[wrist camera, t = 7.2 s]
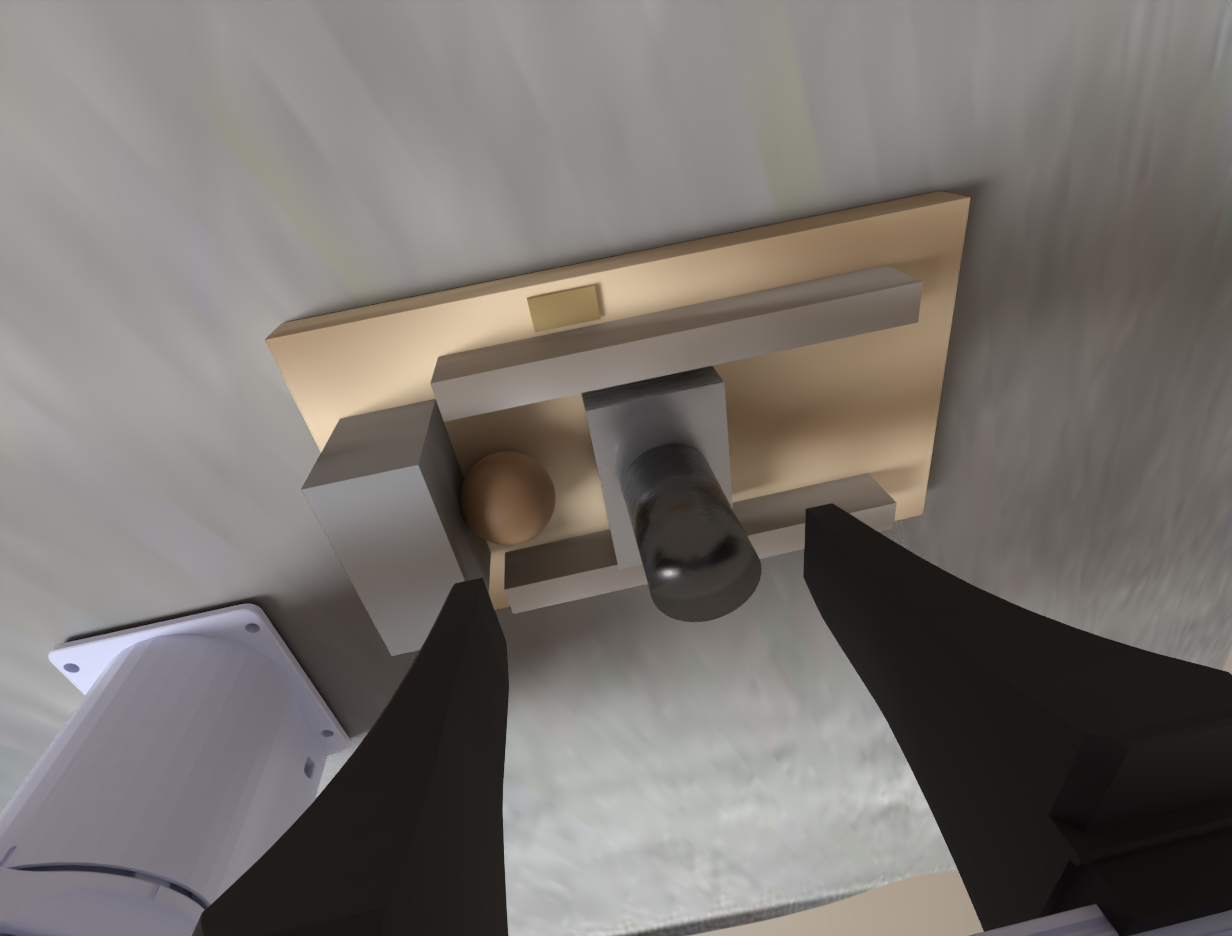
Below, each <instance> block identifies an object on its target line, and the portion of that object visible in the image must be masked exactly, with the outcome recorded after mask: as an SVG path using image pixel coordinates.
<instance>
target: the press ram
mask: <svg viewBox="0 0 1232 936" xmlns="http://www.w3.org/2000/svg"><path fill="white" fill-rule="evenodd" d="M581 395H582V400H583V404H584V409H585V414H586V419H587V423H588V428H589V433H590V438H591V442H592V447H593V452H594V457H595V461H596V466H597V471H598V476H599V480H600V485H601V490H602V495H603V499H604V504H605V509H606V514H607V518H608V523H609V528H610V532H611V537H612V541H613V546H614V550H615V555H616V559H617V564H618V568H619V570H620V569H624V568H629V567H633V566H638V565H642V564H643V568H644V571H645V575H646V578H647V582H648V586H649V589H650V593H651V596H652V599H653V601H654V603H655V605H656V606H657V608H658V609H659V610H660V611H662V612H663V613H664V614H666V615H667V616H669V617H671V618H674V619H677V620H681V621H687V622H701V621H708V620H712V619H716V618H719V617H722V616H724V615H726V614H728V613H730V612H732V611H734V610H735V609H737V608H738V607H740V606H741V605H742V604H743V603H744V602H746V601H747V600H748V598H749V597H750V596H751V595H752V594H753V592H754V591H755V589H756V587H757V585H758V583H759V580H760V576H761V563H760V559H759V557H758V555H757V553H756V551H755V549H754V547H753V546H752V544H751V542H750V540H749V538H748V536H747V534H746V533H745V531H744V529H743V527H742V525H741V523H740V521H739V520H738V518H737V516H736V514H735V512H734V510H733V504H732V489H731V473H730V458H729V443H728V428H727V413H726V397H725V382H724V381H723V380H722V378H721V377H720V376H719V374H718V373H717V372H716V370H715V369H714V367H713V366H708V367H703V368H698V369H694V370H689V371H684V372H679V373H675V374H670V375H665V376H660V377H655V378H651V379H646V380H641V381H636V382H632V383H627V384H622V385H617V386H613V387H608V388H603V389H598V390H593V391H589V392H584V393H581Z"/></svg>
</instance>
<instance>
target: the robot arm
mask: <svg viewBox="0 0 1232 936" xmlns="http://www.w3.org/2000/svg"><path fill="white" fill-rule="evenodd" d="M804 579H805V581H806V584H807V586H808V588H809V590H810V593H811V595H812V597H813V599H814V601H815V603H816V605H817V607H818V610H819V612H820V614H821V616H822V618H823V619H824V621H825V622H826V624H827V626H828V627H829V629H830V631H831V632H832V634H833V635H834V637H835V638H836V640H837V642H838V643H839V645H840V646H841V648H842V650H843V651H844V653H845V654H846V656H847V657H848V659H849V661H850V662H851V664H852V665H853V667H854V668H855V670H856V671H857V673H858V675H859V676H860V678H861V679H862V681H863V682H864V684H865V686H866V687H867V689H868V690H869V692H870V693H871V695H872V697H873V698H874V700H875V701H876V703H877V705H878V706H879V708H880V710H881V711H882V713H883V715H884V717H885V718H886V720H887V722H888V724H889V726H890V728H891V730H892V732H893V734H894V736H895V738H896V739H897V741H898V743H899V745H900V747H901V749H902V751H903V753H904V755H905V757H906V759H907V761H908V763H909V765H910V767H911V769H912V771H913V773H914V776H915V778H916V780H917V782H918V784H919V786H920V788H921V790H922V792H923V794H924V796H925V798H926V801H927V803H928V805H929V807H930V809H931V811H932V813H933V815H934V818H935V820H936V822H937V824H938V826H939V829H940V831H941V833H942V835H943V837H944V840H945V842H946V844H947V846H948V848H949V851H950V853H951V855H952V857H953V859H954V862H955V864H956V866H957V869H958V871H959V873H960V876H961V878H962V880H963V883H964V885H965V887H966V890H967V892H968V894H969V897H970V899H971V901H972V904H973V906H974V909H975V911H976V913H977V916H978V918H979V920H980V923H981V925H982V928H983V930H984V932H981V933H978V934H974V935H970V936H1232V675H1231V674H1230V673H1229V672H1226V671H1222V670H1218V669H1214V668H1210V667H1207V666H1203V665H1199V664H1195V663H1191V662H1187V661H1183V660H1179V659H1176V658H1172V657H1168V656H1164V655H1160V654H1156V653H1152V652H1149V651H1146V650H1142V649H1139V648H1136V647H1132V646H1129V645H1126V644H1123V643H1119V642H1116V641H1113V640H1110V639H1107V638H1103V637H1100V636H1097V635H1094V634H1091V633H1089V632H1086V631H1083V630H1080V629H1077V628H1074V627H1071V626H1069V625H1066V624H1063V623H1061V622H1058V621H1055V620H1053V619H1050V618H1047V617H1045V616H1042V615H1039V614H1037V613H1034V612H1032V611H1029V610H1027V609H1024V608H1022V607H1020V606H1017V605H1015V604H1013V603H1010V602H1008V601H1006V600H1004V599H1001V598H999V597H997V596H995V595H993V594H990V593H988V592H986V591H984V590H981V589H979V588H977V587H975V586H973V585H971V584H969V583H967V582H965V581H963V580H961V579H959V578H957V577H956V576H954V575H952V574H950V573H948V572H946V571H944V570H942V569H940V568H939V567H937V566H935V565H933V564H931V563H929V562H928V561H926V560H924V559H922V558H921V557H919V556H917V555H915V554H914V553H912V552H910V551H909V550H907V549H905V548H904V547H902V546H900V545H899V544H897V543H895V542H894V541H892V540H890V539H889V538H887V537H885V536H884V535H882V534H881V533H879V532H878V531H876V530H874V529H873V528H871V527H870V526H868V525H866V524H865V523H863V522H862V521H860V520H859V519H857V518H855V517H854V516H852V515H851V514H849V513H848V512H846V511H844V510H843V509H841V508H840V507H838V506H836V505H835V504H833V503H831V504H826V505H821V506H816V507H812V508H807V509H806V514H805V547H804ZM251 623H254V624H257V625H252V624H251ZM49 660H50V661H51V662H52V663H53V664H54V665H55V666H56V667H57V668H58V669H59V670H60V671H61V672H62V673H63V674H64V675H65V676H66V677H67V678H68V679H69V680H70V681H71V682H72V683H73V684H74V685H75V686H76V687H77V688H78V689H79V690H80V691H81V692H82V693H83V694H84V695H85V696H84V698H83V699H82V701H81V702H80V703H79V705H78V706H77V707H76V709H75V710H74V712H73V713H72V714H71V716H70V717H69V719H68V720H67V721H66V723H65V724H64V726H63V727H62V728H61V730H60V731H59V732H58V734H57V735H56V737H55V738H54V739H53V741H52V742H51V744H50V745H49V746H48V748H47V749H46V751H45V752H44V753H43V755H42V756H41V757H40V759H39V760H38V762H37V763H36V764H35V766H34V767H33V769H32V770H31V771H30V773H29V774H28V776H27V777H26V778H25V780H24V781H23V783H22V784H21V785H20V787H19V788H18V789H17V791H16V792H15V794H14V795H13V796H12V798H11V799H10V801H9V802H8V803H7V805H6V806H5V808H4V809H3V810H2V812H1V813H0V936H508V925H507V908H506V887H505V867H504V841H503V812H502V808H503V778H504V761H505V745H506V729H507V712H508V693H509V680H508V662H507V647H506V640H505V638H504V635H503V632H502V629H501V627H500V624H499V621H498V618H497V616H496V613H495V610H494V607H493V605H492V602H491V599H490V596H489V594H488V591H487V588H486V585H485V582H484V580H483V578H478V579H473V580H469V581H464V582H459V583H455V584H454V585H453V587H452V588H451V590H450V592H449V594H448V596H447V598H446V600H445V602H444V604H443V606H442V609H441V611H440V613H439V615H438V617H437V619H436V621H435V623H434V625H433V627H432V628H431V630H430V632H429V634H428V636H427V638H426V640H425V642H424V644H423V645H422V647H421V649H420V651H419V653H418V655H417V656H416V658H415V660H414V662H413V664H412V665H411V667H410V669H409V671H408V672H407V674H406V676H405V677H404V679H403V680H402V682H401V684H400V685H399V687H398V689H397V690H396V692H395V693H394V695H393V697H392V698H391V700H390V702H389V703H388V705H387V706H386V708H385V709H384V711H383V712H382V714H381V715H380V717H379V718H378V720H377V721H376V723H375V724H374V725H373V727H372V728H371V730H370V731H369V732H368V734H367V735H366V737H365V738H364V739H363V741H362V742H361V743H360V745H359V746H358V748H357V749H356V750H355V752H354V753H353V754H352V755H351V757H350V758H349V759H348V760H347V762H346V763H345V764H344V765H343V767H342V768H341V769H340V771H339V772H338V773H337V774H336V775H335V777H334V778H333V779H332V780H331V782H330V783H329V784H328V785H327V786H326V788H325V789H324V790H323V791H322V792H321V794H320V795H319V796H318V797H317V798H316V794H317V791H318V787H319V784H320V780H321V776H322V773H323V769H324V766H325V762H326V759H327V755H329V754H333V753H337V752H341V751H344V750H345V749H346V748H347V747H348V743H349V737H348V736H347V734H346V733H345V731H344V730H343V728H342V727H341V725H340V724H339V722H338V721H337V719H336V718H335V716H334V715H333V713H332V712H331V710H330V709H329V708H328V706H327V705H326V703H325V702H324V700H323V699H322V697H321V696H320V694H319V693H318V691H317V690H316V688H315V687H314V685H313V684H312V682H311V681H310V680H309V678H308V677H307V675H306V674H305V672H304V671H303V669H302V668H301V666H300V665H299V663H298V662H297V660H296V659H295V657H294V656H293V654H292V653H291V652H290V650H289V649H288V647H287V646H286V644H285V643H284V641H283V640H282V638H281V637H280V635H279V634H278V632H277V631H276V629H275V628H274V626H273V625H272V623H271V622H270V621H269V619H268V618H267V616H266V615H265V613H264V612H263V610H262V609H261V608H260V607H259V606H256V605H254V604H249V603H248V604H240V605H236V606H231V607H227V608H222V609H217V610H213V611H208V612H204V613H199V614H195V615H190V616H185V617H181V618H176V619H172V620H167V621H163V622H158V623H153V624H149V625H144V626H140V627H135V628H131V629H126V630H121V631H117V632H112V633H108V634H103V635H99V636H94V637H89V638H85V639H80V640H76V641H71V642H67V643H62V644H59V645H56V646H55V647H54V649H53V650H52V651H51V652H50V653H49ZM315 798H316V799H315Z"/></svg>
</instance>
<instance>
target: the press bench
mask: <svg viewBox="0 0 1232 936" xmlns="http://www.w3.org/2000/svg"><path fill="white" fill-rule="evenodd" d="M970 198H971V197H967V196H962V195H958V194H953V193H948V192H944V191H937V192H932V193H927V194H922V195H917V196H912V197H907V198H902V199H897V200H892V201H887V202H882V203H877V204H872V205H867V206H862V207H857V208H852V209H847V210H842V211H837V212H833V213H828V214H823V215H818V216H813V217H808V218H803V219H798V220H793V221H788V222H783V223H778V224H773V225H768V226H763V227H758V228H753V229H748V230H743V231H738V232H733V233H728V234H723V235H718V236H713V237H708V238H703V239H698V240H693V241H688V242H683V243H678V244H674V245H669V246H664V247H659V248H654V249H649V250H644V251H639V252H634V253H629V254H624V255H619V256H614V257H609V258H604V259H599V260H594V261H589V262H584V263H579V264H574V265H569V266H564V267H559V268H554V269H549V270H544V271H539V272H534V273H529V274H524V275H519V276H514V277H510V278H505V279H500V280H495V281H490V282H485V283H480V284H475V285H470V286H465V287H460V288H455V289H450V290H445V291H440V292H435V293H430V294H425V295H420V296H415V297H410V298H405V299H400V300H395V301H390V302H385V303H380V304H375V305H370V306H365V307H360V308H355V309H351V310H346V311H341V312H336V313H331V314H326V315H321V316H316V317H311V318H306V319H301V320H296V321H291V322H286V323H282V324H281V325H280V326H279V327H278V328H276V329H275V330H274V331H273V332H272V333H271V334H270V335H269V336H268V337H267V338H266V339H265V342H266V344H267V346H268V348H269V350H270V352H271V354H272V356H273V358H274V360H275V362H276V364H277V366H278V368H279V370H280V372H281V374H282V376H283V378H284V380H285V382H286V384H287V386H288V388H289V390H290V392H291V394H292V396H293V398H294V400H295V402H296V404H297V406H298V408H299V409H300V411H301V413H302V415H303V417H304V419H305V421H306V423H307V425H308V427H309V429H310V431H311V433H312V435H313V437H314V439H315V441H316V443H317V445H318V447H319V449H320V451H321V454H320V456H319V458H318V459H317V461H316V463H315V465H314V467H313V469H312V470H311V472H310V474H309V476H308V478H307V480H306V481H305V483H304V485H303V487H302V489H301V491H302V493H303V494H304V496H305V498H306V500H307V502H308V504H309V505H310V507H311V509H312V511H313V513H314V515H315V516H316V518H317V520H318V522H319V524H320V526H321V527H322V529H323V531H324V533H325V535H326V537H327V538H328V540H329V542H330V544H331V546H332V548H333V550H334V551H335V553H336V555H337V557H338V559H339V561H340V562H341V564H342V566H343V568H344V570H345V572H346V573H347V575H348V577H349V579H350V581H351V583H352V584H353V586H354V588H355V590H356V592H357V594H358V595H359V597H360V599H361V601H362V603H363V605H364V606H365V608H366V610H367V612H368V614H369V616H370V617H371V619H372V621H373V623H374V625H375V627H376V628H377V630H378V632H379V634H380V636H381V638H382V639H383V641H384V643H385V645H386V647H387V649H388V650H389V652H390V654H391V656H396V655H400V654H405V653H409V652H413V651H418V650H420V649H421V647H422V645H423V644H424V642H425V640H426V638H427V636H428V634H429V632H430V630H431V628H432V627H433V625H434V623H435V621H436V619H437V617H438V615H439V613H440V611H441V609H442V606H443V604H444V602H445V600H446V598H447V596H448V594H449V592H450V590H451V588H452V587H453V585H454V584H455V583H459V582H464V581H469V580H473V579H478V578H483V580H484V582H485V585H486V588H487V591H488V594H489V596H490V599H491V602H492V605H493V607H494V610H497V609H502V608H506V607H511V610H512V613H513V614H516V613H520V612H525V611H529V610H534V609H538V608H543V607H547V606H552V605H556V604H561V603H565V602H570V601H574V600H579V599H583V598H588V597H592V596H597V595H601V594H606V593H610V592H614V591H619V590H623V589H628V588H632V587H637V586H641V585H646V584H648V582H647V578H646V575H645V571H644V568H643V564H642V565H638V566H633V567H629V568H624V569H620V570H619V568H618V564H617V559H616V555H615V550H614V546H613V541H612V537H611V532H610V528H609V523H608V518H607V514H606V509H605V504H604V499H603V495H602V490H601V485H600V480H599V476H598V471H597V466H596V461H595V457H594V452H593V447H592V442H591V438H590V433H589V428H588V423H587V419H586V414H585V409H584V404H583V400H582V395H581V393H584V392H589V391H593V390H598V389H603V388H608V387H613V386H617V385H622V384H627V383H632V382H636V381H641V380H646V379H651V378H655V377H660V376H665V375H670V374H675V373H679V372H684V371H689V370H694V369H698V368H703V367H708V366H713V367H714V369H715V370H716V372H717V373H718V374H719V376H720V377H721V378H722V380H723V381H724V382H725V397H726V413H727V428H728V443H729V458H730V473H731V489H732V504H733V510H734V512H735V514H736V516H737V518H738V520H739V521H740V523H741V525H742V527H743V529H744V531H745V533H746V534H747V536H748V538H749V540H750V542H751V544H752V546H753V547H754V549H755V551H756V553H757V555H758V557H759V559H762V558H767V557H771V556H776V555H780V554H785V553H789V552H794V551H798V550H803V549H804V547H805V514H806V509H807V508H812V507H816V506H821V505H826V504H831V503H833V504H835V505H836V506H838V507H840V508H841V509H843V510H844V511H846V512H848V513H849V514H851V515H852V516H854V517H855V518H857V519H859V520H860V521H862V522H863V523H865V524H866V525H868V526H870V527H871V528H873V529H874V530H876V531H878V532H883V531H888V530H892V529H894V521H897V520H902V519H906V518H911V517H915V516H920V515H923V510H924V503H925V497H926V490H927V483H928V477H929V470H930V463H931V457H932V450H933V444H934V437H935V430H936V424H937V417H938V410H939V404H940V397H941V391H942V384H943V377H944V371H945V364H946V357H947V351H948V344H949V338H950V331H951V324H952V318H953V311H954V304H955V298H956V291H957V285H958V278H959V271H960V265H961V258H962V251H963V245H964V238H965V232H966V225H967V218H968V212H969V205H970Z"/></svg>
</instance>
